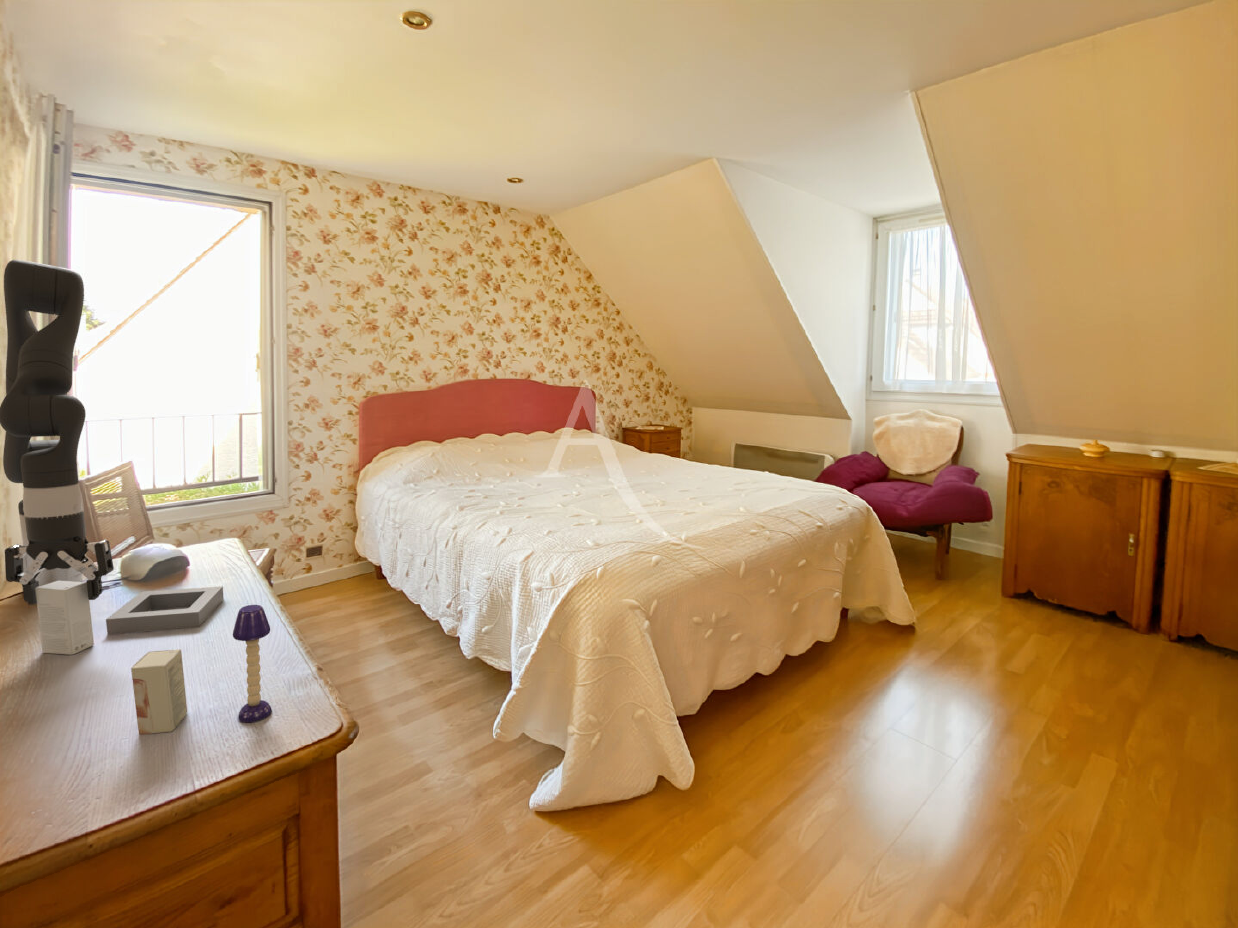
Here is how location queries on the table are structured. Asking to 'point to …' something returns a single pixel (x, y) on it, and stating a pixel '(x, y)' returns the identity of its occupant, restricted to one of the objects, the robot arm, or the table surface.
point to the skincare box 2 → (159, 691)
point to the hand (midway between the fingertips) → (64, 600)
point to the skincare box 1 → (64, 617)
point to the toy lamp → (252, 659)
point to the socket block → (140, 619)
